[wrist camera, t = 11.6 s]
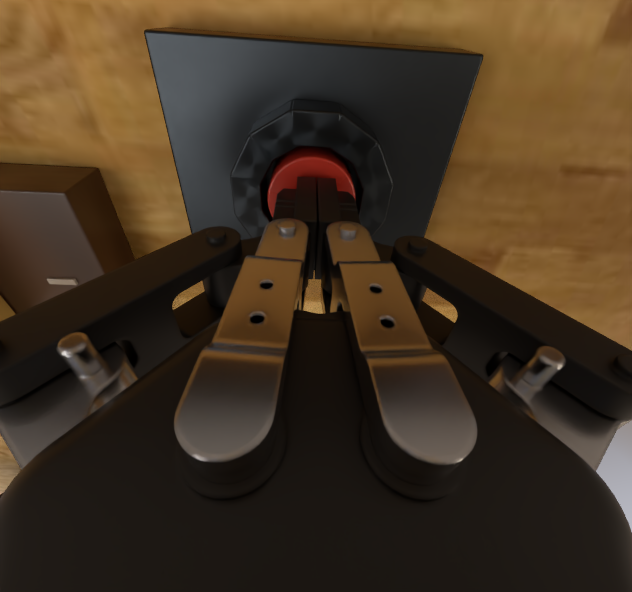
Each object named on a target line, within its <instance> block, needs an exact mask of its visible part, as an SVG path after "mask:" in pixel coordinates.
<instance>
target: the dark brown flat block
mask: <svg viewBox="0 0 632 592" xmlns="http://www.w3.org/2000/svg"><path fill="white" fill-rule="evenodd" d="M134 260H135V259H134V257H133V254H132V252H131V249H130V247H129V244H128V242H127V239H126V237H125V234H124V232H123V229H122V227H121V224H120V222H119V219H118V217H117V214H116V211H115V209H114V206H113V204H112V201H111V199H110V196H109V194H108V191H107V189H106V186H105V184H104V181H103V179H102V176H101V174H100V171H99V169H98V168H82V167H63V166H43V165H24V164H5V163H0V295H1V297H2V298H3V299H4V300H5V302H6V303H7V304H8V305H9V306H10V308H11V309H12V310H13V311H14V313H15V314H18V313H20V312H22V311H24V310H26V309H29V308H31V307H33V306H35V305H37V304H40V303H42V302H44V301H46V300H48V299H51V298H53V297H55V296H57V295H60V294H62V293H64V292H66V291H68V290H71V289H73V288H75V287H77V286H79V285H82V284H84V283H86V282H88V281H90V280H93V279H95V278H97V277H99V276H101V275H104V274H106V273H108V272H110V271H112V270H115V269H117V268H119V267H121V266H123V265H126V264H128V263H130V262H132V261H134Z"/></svg>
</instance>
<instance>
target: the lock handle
mask: <svg viewBox="0 0 632 592" xmlns="http://www.w3.org/2000/svg"><path fill="white" fill-rule="evenodd" d="M13 315H15V313H14V311H13V310H12V309H11V308H10V306H9V305H8V304H7V303H6V302H5V300H4V299H3V298H2V297H1V295H0V321H2V320H4V319H7V318H9V317H11V316H13Z"/></svg>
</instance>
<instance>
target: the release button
mask: <svg viewBox="0 0 632 592" xmlns="http://www.w3.org/2000/svg"><path fill="white" fill-rule="evenodd" d="M297 176H299V177H316V186H317V177H318V178H335V179H336V185H337V191H345V192H349V193H350V194H351V195H352V196H353V197H354V198H355V200H356V196H355V189H354V185H353V181H352V177H351V173H350V170H349V167H348V165H347V163H346V162H345V160H344V159H343V158H342V157H341V156H340V155H338V154H337V153H335V152H334V151H332V150H331V149H330V148H317V147H298V148H296V149H294V150H292V151H290V152H288V153H287V154H285V155H283V156H281V157H280V158H279V160H278V161H277V163H276V165H275V167H274V169H273V172H272V176H271V180H270V184H269V188H268V195H267V201H268V207H269V211H270V213H271V216H272V217H273V214H274V209H275V203H276V198H277V194H278V193H279V192H280V191H281V190H282V189H284V188H287V189H296V188H297Z"/></svg>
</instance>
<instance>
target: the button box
mask: <svg viewBox="0 0 632 592" xmlns="http://www.w3.org/2000/svg"><path fill="white" fill-rule="evenodd" d="M144 34H145V39H146V43H147V47H148V51H149V55H150V60H151V64H152V68H153V72H154V77H155V81H156V85H157V89H158V94H159V98H160V102H161V106H162V110H163V115H164V119H165V123H166V127H167V132H168V136H169V140H170V144H171V149H172V153H173V157H174V161H175V165H176V170H177V174H178V178H179V182H180V187H181V191H182V195H183V199H184V204H185V208H186V212H187V216H188V220H189V225H190V229H191V233H192V234H194V233H196V232H198V231H200V230H203V229H205V228H209V227H215V226H224V227H229V228H233V229H235V230H236V231H238V232H239V234H240V236H241V240H243V239H250V238H255V237H259V236H261V235H263V232H264V229H265V227H266V225H267V224H268V223H269V222H271V221H272V220H273V217H272V216H271V213H270V211H269V207H268V201H267V195H268V188H269V184H270V180H271V176H272V172H273V169H274V167H275V165H276V163H277V161H278V160H279V158H280V157H281V156H283V155H285V154H287V153H288V152H290V151H292V150H294V149H296V148H298V147H317V148H330V149H331V150H332V151H334V152H335V153H337V154H338V155H340V156H341V157H342V158H343V159H344V160H345V162H346V163H347V165H348V167H349V170H350V173H351V177H352V181H353V185H354V189H355V196H356V200H355V202H356V206H357V211H358V214H359V219H360V223H361V225H363V226H364V227H366V228H367V229H368V231H369V233H370V235H371V238H372V240H373V241H375V242H377V243H380V244H384V245H388V246H393V247H394V243H395V241H396V240H397V239H398V238H400V237H402V236H419V237H423V238H424V235H425V232H426V229H427V226H428V223H429V220H430V217H431V214H432V211H433V208H434V205H435V202H436V199H437V196H438V193H439V190H440V187H441V184H442V181H443V178H444V175H445V172H446V169H447V166H448V163H449V160H450V157H451V154H452V150H453V147H454V144H455V141H456V138H457V135H458V132H459V129H460V126H461V123H462V120H463V117H464V114H465V111H466V108H467V105H468V102H469V99H470V96H471V93H472V90H473V87H474V84H475V81H476V78H477V75H478V72H479V69H480V66H481V63H482V60H483V55H482V54H479V53H475V52H471V51H467V50H462V49H451V48H437V47H423V46H410V45H396V44H383V43H369V42H356V41H342V40H329V39H315V38H301V37H288V36H274V35H261V34H247V33H234V32H220V31H206V30H193V29H179V28H156V29H146V30H144ZM314 270H315V257H314Z"/></svg>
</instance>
